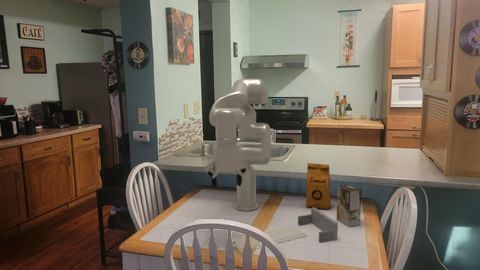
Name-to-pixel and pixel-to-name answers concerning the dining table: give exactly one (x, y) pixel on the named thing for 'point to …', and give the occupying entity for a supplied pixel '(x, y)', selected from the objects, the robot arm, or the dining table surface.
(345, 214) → the coffee box
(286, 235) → the baseboard molding
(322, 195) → the coffee package
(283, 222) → the dining table surface
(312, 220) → the u-shaped bracket
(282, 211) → the dining table surface
